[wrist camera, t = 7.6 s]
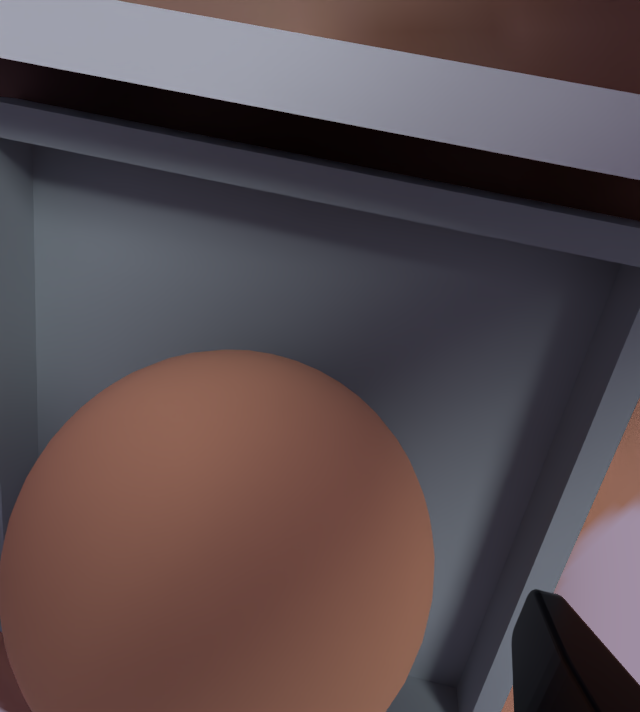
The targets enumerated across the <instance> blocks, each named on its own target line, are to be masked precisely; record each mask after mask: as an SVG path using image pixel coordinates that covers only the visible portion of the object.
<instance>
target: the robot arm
mask: <svg viewBox="0 0 640 712" xmlns="http://www.w3.org/2000/svg"><path fill="white" fill-rule="evenodd" d="M511 648H512V671H513V694H514V712H640V685H639V684H638V683H637V682H636V680H635V679H634V678H633V677H632V676H631V675H630V674H629V673H628V671H627V670H626V669H625V668H624V667H623V666H622V664H621V663H620V662H619V661H618V660H617V659H616V658H615V656H614V655H613V654H612V653H611V652H610V651H609V650H608V648H607V647H606V646H605V645H604V644H603V643H602V642H601V640H600V639H599V638H598V637H597V636H596V635H595V634H594V632H593V631H592V630H591V629H590V628H589V627H588V626H587V624H586V623H585V622H584V621H583V620H582V619H581V618H580V616H579V615H578V614H577V613H576V612H575V611H574V609H573V608H572V607H571V606H570V605H569V604H568V603H567V601H566V600H565V599H564V598H563V597H561V596H560V595H558V594H554V593H550V592H546V591H542V590H538V589H534V590H532V591H530V593H529V594H528V596H527V598H526V600H525V603H524V605H523V607H522V610H521V612H520V615H519V617H518V619H517V622H516V624H515V626H514V629H513V633H512V642H511Z"/></svg>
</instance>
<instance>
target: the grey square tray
mask: <svg viewBox="0 0 640 712" xmlns="http://www.w3.org/2000/svg"><path fill="white" fill-rule="evenodd" d="M225 349H227V350H251V351H257V352H263V353H270V354H275V355H278V356H282V357H285V358H289V359H292V360H296V361H298V362H300V363H303V364H305V365H308V366H310V367H312V368H315V369H317V370H319V371H321V372H323V373H325V374H326V375H328V376H330V377H332V378H333V379H335V380H337V381H339V382H340V383H342V384H343V385H344V386H346V387H347V388H348V389H350V390H351V391H352V392H354V393H355V394H356V395H358V396H359V397H360V398H361V399H362V400H363V401H364V402H365V403H366V404H367V405H368V406H369V407H371V408H372V409H373V410H374V411H375V412H376V413H377V415H378V416H379V417H380V418H381V420H382V421H383V422H384V423H385V425H386V426H387V427H388V428H389V429H390V431H391V432H392V433H393V435H394V436H395V437H396V438H397V440H398V442H399V443H400V445H401V447H402V448H403V450H404V452H405V453H406V455H407V456H408V458H409V460H410V462H411V465H412V467H413V469H414V472H415V474H416V476H417V479H418V481H419V484H420V486H421V489H422V491H423V494H424V497H425V501H426V505H427V509H428V513H429V516H430V523H431V529H432V536H433V546H434V556H435V560H434V582H433V597H432V603H431V608H430V612H429V617H428V621H427V625H426V629H425V633H424V637H423V642H422V644H421V647H420V649H419V651H418V654H417V656H416V658H415V661H414V663H413V665H412V668H411V670H410V672H409V674H408V677H407V679H406V681H405V683H404V685H403V686H402V688H401V689H400V691H399V692H398V694H397V695H396V697H395V699H394V700H393V702H392V703H391V705H390V706H389V708H388V709H387V711H386V712H501V710H502V708H503V706H504V703H505V701H506V699H507V697H508V694H509V692H510V690H511V688H512V685H513V671H512V648H511V642H512V633H513V629H514V626H515V624H516V622H517V619H518V617H519V615H520V612H521V610H522V607H523V605H524V603H525V600H526V598H527V596H528V594H529V593H530V591H532V590H534V589H538V590H542V591H546V592H550V593H553V592H554V590H555V588H556V585H557V583H558V581H559V579H560V576H561V574H562V572H563V570H564V567H565V565H566V563H567V561H568V558H569V556H570V554H571V551H572V549H573V547H574V545H575V542H576V540H577V538H578V536H579V533H580V531H581V529H582V527H583V524H584V522H585V520H586V517H587V515H588V513H589V511H590V508H591V506H592V504H593V502H594V499H595V497H596V495H597V493H598V490H599V488H600V486H601V483H602V481H603V479H604V477H605V474H606V472H607V470H608V468H609V465H610V463H611V461H612V458H613V456H614V454H615V452H616V449H617V447H618V445H619V443H620V440H621V438H622V436H623V434H624V431H625V429H626V427H627V424H628V422H629V420H630V418H631V415H632V413H633V411H634V409H635V406H636V404H637V402H638V400H639V397H640V221H637V220H632V219H627V218H622V217H617V216H612V215H607V214H601V213H596V212H591V211H586V210H581V209H576V208H571V207H566V206H561V205H556V204H551V203H546V202H540V201H535V200H530V199H525V198H520V197H515V196H510V195H505V194H500V193H495V192H490V191H485V190H480V189H474V188H469V187H464V186H459V185H454V184H449V183H444V182H439V181H434V180H429V179H424V178H419V177H413V176H408V175H403V174H398V173H393V172H388V171H383V170H378V169H373V168H368V167H363V166H358V165H352V164H347V163H342V162H337V161H332V160H327V159H322V158H317V157H312V156H307V155H302V154H297V153H292V152H286V151H281V150H276V149H271V148H266V147H261V146H256V145H251V144H246V143H241V142H236V141H231V140H225V139H220V138H215V137H210V136H205V135H200V134H195V133H190V132H185V131H180V130H175V129H170V128H164V127H159V126H154V125H149V124H144V123H139V122H134V121H129V120H124V119H119V118H114V117H109V116H104V115H98V114H93V113H88V112H83V111H78V110H73V109H68V108H63V107H58V106H53V105H48V104H43V103H37V102H32V101H27V100H22V99H17V98H8V97H0V559H1V554H2V549H3V544H4V539H5V535H6V531H7V527H8V522H9V518H10V516H11V513H12V510H13V508H14V505H15V503H16V500H17V498H18V496H19V493H20V491H21V489H22V486H23V484H24V482H25V480H26V477H27V476H28V474H29V472H30V471H31V469H32V467H33V466H34V464H35V463H36V461H37V459H38V458H39V456H40V455H41V453H42V452H43V450H44V449H45V447H46V446H47V444H48V443H49V441H50V440H51V439H52V438H53V437H54V435H55V434H56V433H57V432H58V431H59V430H60V429H61V427H62V426H63V425H64V424H65V423H66V422H67V421H68V420H69V419H70V418H71V417H72V416H73V415H74V414H75V413H76V412H77V411H78V410H79V409H80V408H81V407H82V406H83V405H85V404H86V403H87V402H88V401H90V400H91V399H92V398H93V397H95V396H96V395H97V394H98V393H100V392H101V391H103V390H104V389H106V388H107V387H109V386H110V385H112V384H113V383H115V382H117V381H118V380H120V379H122V378H124V377H125V376H127V375H129V374H131V373H132V372H135V371H137V370H140V369H142V368H145V367H147V366H150V365H152V364H155V363H157V362H160V361H163V360H165V359H168V358H171V357H176V356H180V355H184V354H188V353H194V352H204V351H215V350H225ZM0 631H1V632H2V627H1V620H0Z"/></svg>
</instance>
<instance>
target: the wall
mask: <svg viewBox="0 0 640 712" xmlns="http://www.w3.org/2000/svg"><path fill="white" fill-rule="evenodd" d="M0 58H4V59H9V60H15V61H20V62H25V63H30V64H35V65H41V66H46V67H51V68H56V69H62V70H67V71H72V72H77V73H83V74H88V75H93V76H98V77H103V78H109V79H114V80H119V81H124V82H130V83H135V84H140V85H145V86H150V87H156V88H161V89H166V90H171V91H177V92H182V93H187V94H192V95H198V96H203V97H208V98H213V99H218V100H224V101H229V102H234V103H239V104H245V105H250V106H255V107H260V108H265V109H271V110H276V111H281V112H286V113H292V114H297V115H302V116H307V117H313V118H318V119H323V120H328V121H333V122H339V123H344V124H349V125H354V126H360V127H365V128H370V129H375V130H380V131H386V132H391V133H396V134H401V135H407V136H412V137H417V138H422V139H428V140H433V141H438V142H443V143H448V144H454V145H459V146H464V147H469V148H475V149H480V150H485V151H490V152H495V153H501V154H506V155H511V156H516V157H522V158H527V159H532V160H537V161H543V162H548V163H553V164H558V165H563V166H569V167H574V168H579V169H584V170H590V171H595V172H600V173H605V174H610V175H616V176H621V177H626V178H631V179H637V180H640V94H634V93H628V92H623V91H617V90H612V89H606V88H601V87H595V86H590V85H584V84H578V83H573V82H567V81H562V80H556V79H551V78H545V77H539V76H534V75H528V74H523V73H517V72H512V71H506V70H501V69H495V68H489V67H484V66H478V65H473V64H467V63H462V62H456V61H450V60H445V59H439V58H434V57H428V56H423V55H417V54H412V53H406V52H400V51H395V50H389V49H384V48H378V47H373V46H367V45H362V44H356V43H350V42H345V41H339V40H334V39H328V38H323V37H317V36H311V35H306V34H300V33H295V32H289V31H284V30H278V29H273V28H267V27H261V26H256V25H250V24H245V23H239V22H234V21H228V20H222V19H217V18H211V17H206V16H200V15H195V14H189V13H184V12H178V11H172V10H167V9H161V8H156V7H150V6H145V5H139V4H133V3H128V2H122V1H117V0H0Z"/></svg>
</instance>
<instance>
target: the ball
mask: <svg viewBox="0 0 640 712" xmlns="http://www.w3.org/2000/svg"><path fill="white" fill-rule="evenodd" d="M434 560H435V556H434V546H433V536H432V529H431V523H430V516H429V513H428V509H427V505H426V501H425V497H424V494H423V491H422V489H421V486H420V484H419V481H418V479H417V476H416V474H415V472H414V469H413V467H412V465H411V462H410V460H409V458H408V456H407V455H406V453H405V452H404V450H403V448H402V447H401V445H400V443H399V442H398V440H397V438H396V437H395V436H394V435H393V433H392V432H391V431H390V429H389V428H388V427H387V426H386V425H385V423H384V422H383V421H382V420H381V418H380V417H379V416H378V415H377V413H376V412H375V411H374V410H373V409H372V408H371V407H369V406H368V405H367V404H366V403H365V402H364V401H363V400H362V399H361V398H360V397H359V396H358V395H356V394H355V393H354V392H352V391H351V390H350V389H348V388H347V387H346V386H344V385H343V384H342V383H340V382H339V381H337V380H335V379H333V378H332V377H330V376H328V375H326V374H325V373H323V372H321V371H319V370H317V369H315V368H312V367H310V366H308V365H305V364H303V363H300V362H298V361H296V360H292V359H289V358H285V357H282V356H278V355H275V354H270V353H263V352H257V351H251V350H227V349H225V350H215V351H204V352H194V353H188V354H184V355H180V356H176V357H171V358H168V359H165V360H163V361H160V362H157V363H155V364H152V365H150V366H147V367H145V368H142V369H140V370H137V371H135V372H132V373H131V374H129V375H127V376H125V377H124V378H122V379H120V380H118V381H117V382H115V383H113V384H112V385H110V386H109V387H107V388H106V389H104V390H103V391H101V392H100V393H98V394H97V395H96V396H95V397H93V398H92V399H91V400H90V401H88V402H87V403H86V404H85V405H83V406H82V407H81V408H80V409H79V410H78V411H77V412H76V413H75V414H74V415H73V416H72V417H71V418H70V419H69V420H68V421H67V422H66V423H65V424H64V425H63V426H62V427H61V429H60V430H59V431H58V432H57V433H56V434H55V435H54V437H53V438H52V439H51V440H50V441H49V443H48V444H47V446H46V447H45V449H44V450H43V452H42V453H41V455H40V456H39V458H38V459H37V461H36V463H35V464H34V466H33V467H32V469H31V471H30V472H29V474H28V476H27V477H26V480H25V482H24V484H23V486H22V489H21V491H20V493H19V496H18V498H17V500H16V503H15V505H14V508H13V510H12V513H11V516H10V518H9V522H8V527H7V531H6V535H5V539H4V544H3V549H2V554H1V559H0V620H1V627H2V633H3V639H4V646H5V650H6V653H7V656H8V660H9V663H10V666H11V668H12V671H13V673H14V676H15V678H16V681H17V683H18V686H19V688H20V690H21V692H22V695H23V697H24V699H25V701H26V703H27V704H28V706H29V708H30V709H31V711H32V712H386V711H387V709H388V708H389V706H390V705H391V703H392V702H393V700H394V699H395V697H396V695H397V694H398V692H399V691H400V689H401V688H402V686H403V685H404V683H405V681H406V679H407V677H408V674H409V672H410V670H411V668H412V665H413V663H414V661H415V658H416V656H417V654H418V651H419V649H420V647H421V644H422V642H423V637H424V633H425V629H426V625H427V621H428V617H429V612H430V608H431V603H432V597H433V582H434Z"/></svg>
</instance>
